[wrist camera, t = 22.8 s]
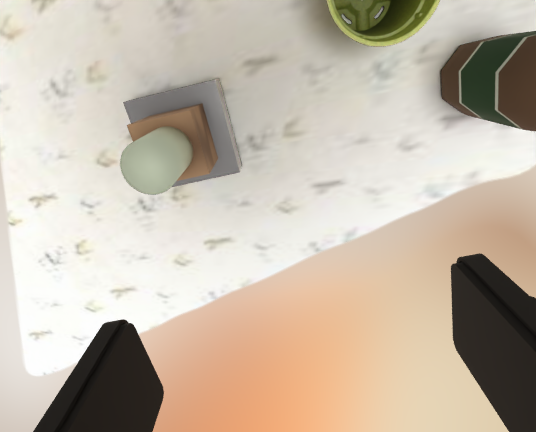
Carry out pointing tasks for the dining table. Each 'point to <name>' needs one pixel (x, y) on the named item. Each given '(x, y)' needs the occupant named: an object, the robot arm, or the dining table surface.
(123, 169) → the tin
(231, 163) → the plinth
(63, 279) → the dining table surface
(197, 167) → the cube
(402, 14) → the plant pot
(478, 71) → the beer bottle
